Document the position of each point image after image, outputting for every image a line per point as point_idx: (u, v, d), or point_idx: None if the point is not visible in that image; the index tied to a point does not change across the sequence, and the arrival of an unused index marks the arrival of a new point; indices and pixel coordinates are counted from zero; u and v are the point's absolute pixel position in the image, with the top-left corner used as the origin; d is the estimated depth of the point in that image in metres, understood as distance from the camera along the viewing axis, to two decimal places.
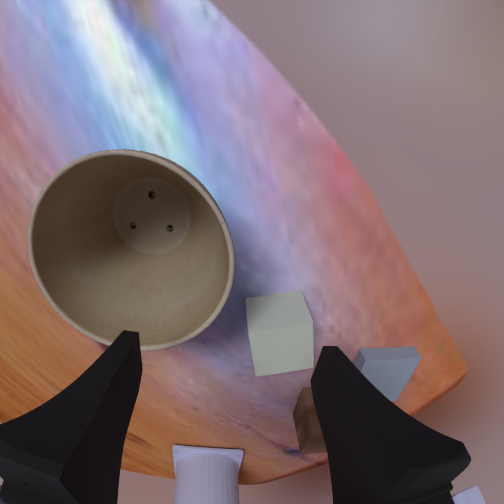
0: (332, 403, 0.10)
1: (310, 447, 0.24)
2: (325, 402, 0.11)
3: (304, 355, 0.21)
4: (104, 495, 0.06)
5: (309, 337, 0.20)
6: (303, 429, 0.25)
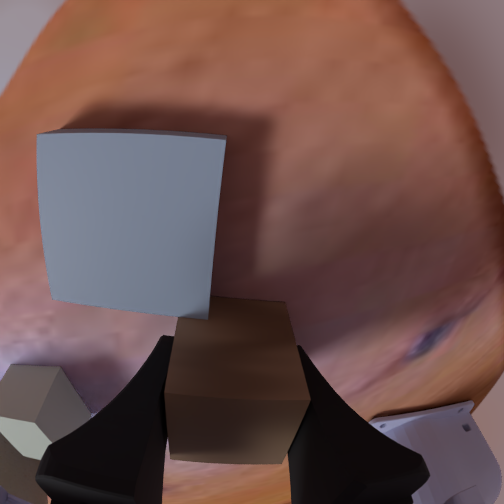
0: None
1: (252, 456, 0.10)
2: None
3: (21, 427, 0.11)
4: None
5: None
6: None
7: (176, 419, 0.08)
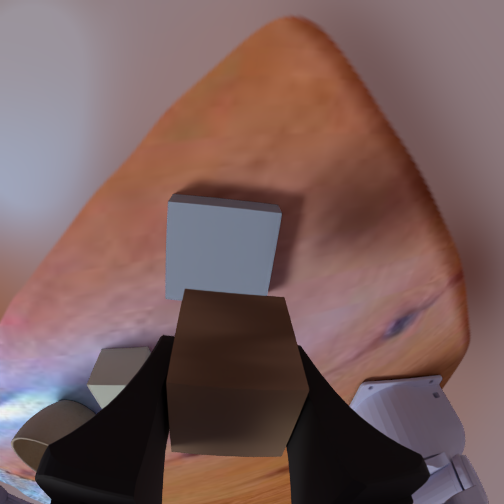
0: None
1: (252, 448, 0.10)
2: None
3: None
4: None
5: (101, 387, 0.19)
6: None
7: (177, 410, 0.09)
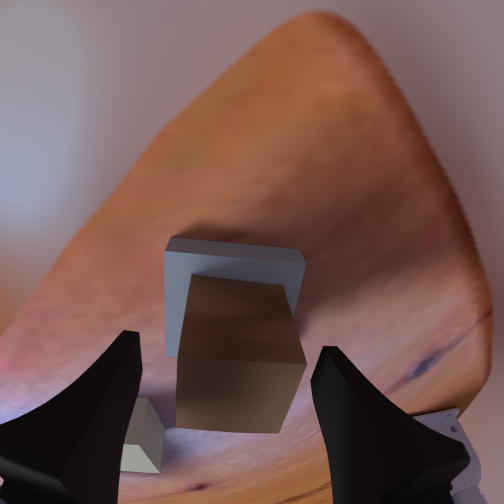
0: (332, 403, 0.10)
1: (252, 424, 0.11)
2: (325, 402, 0.11)
3: None
4: (104, 495, 0.06)
5: None
6: None
7: (185, 382, 0.10)
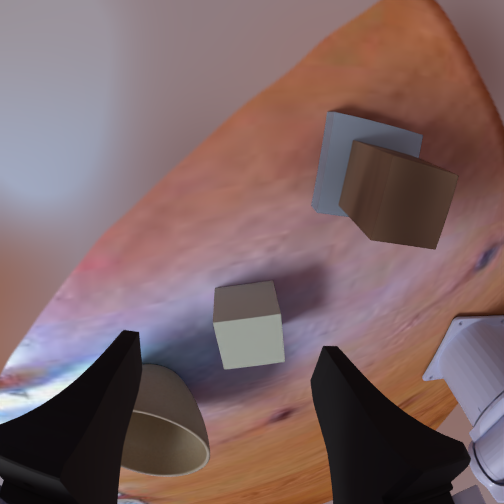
0: (332, 403, 0.10)
1: (422, 235, 0.14)
2: (325, 402, 0.11)
3: (258, 325, 0.19)
4: (104, 495, 0.06)
5: (232, 323, 0.19)
6: None
7: (391, 184, 0.13)
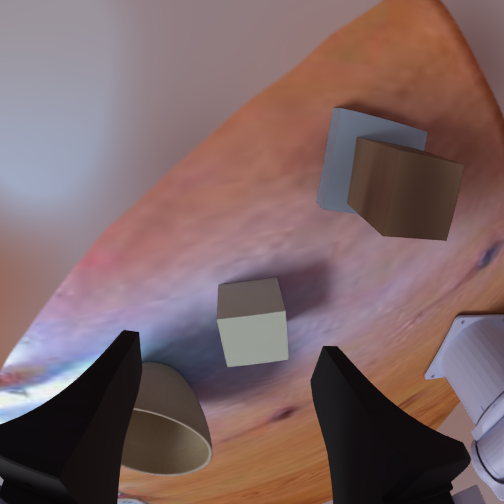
0: (332, 403, 0.10)
1: (433, 227, 0.14)
2: (325, 402, 0.11)
3: (263, 322, 0.19)
4: (104, 495, 0.06)
5: (236, 320, 0.19)
6: None
7: (400, 179, 0.13)
